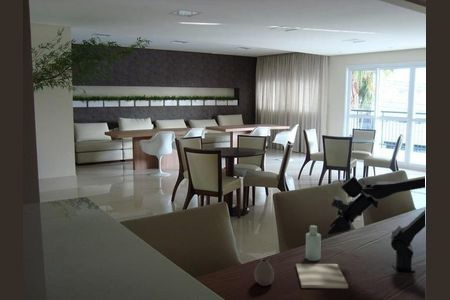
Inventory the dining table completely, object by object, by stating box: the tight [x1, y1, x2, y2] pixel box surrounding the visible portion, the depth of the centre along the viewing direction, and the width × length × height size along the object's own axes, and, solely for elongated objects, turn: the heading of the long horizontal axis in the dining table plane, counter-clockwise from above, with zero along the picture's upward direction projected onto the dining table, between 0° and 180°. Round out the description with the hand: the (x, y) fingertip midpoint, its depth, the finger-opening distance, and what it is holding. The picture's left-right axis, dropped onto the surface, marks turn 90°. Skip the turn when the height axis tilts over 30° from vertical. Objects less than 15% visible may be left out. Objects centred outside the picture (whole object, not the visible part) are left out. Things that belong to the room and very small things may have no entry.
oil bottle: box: [305, 224, 322, 262], centre depth 166 cm, size 6×6×14 cm
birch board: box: [295, 263, 349, 289], centre depth 149 cm, size 18×16×1 cm
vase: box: [254, 258, 275, 287], centre depth 144 cm, size 7×7×9 cm
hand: (329, 230), depth 163 cm, fingers open, 9 cm apart
